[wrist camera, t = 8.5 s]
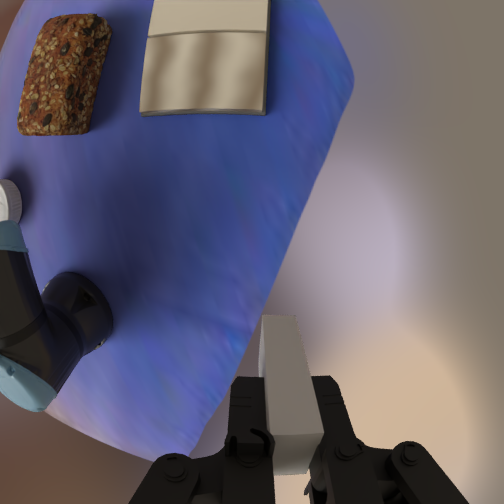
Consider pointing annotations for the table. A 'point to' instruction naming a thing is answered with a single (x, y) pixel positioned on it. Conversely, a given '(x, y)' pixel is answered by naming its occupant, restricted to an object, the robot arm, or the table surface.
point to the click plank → (203, 73)
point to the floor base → (212, 28)
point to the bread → (63, 75)
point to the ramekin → (10, 201)
